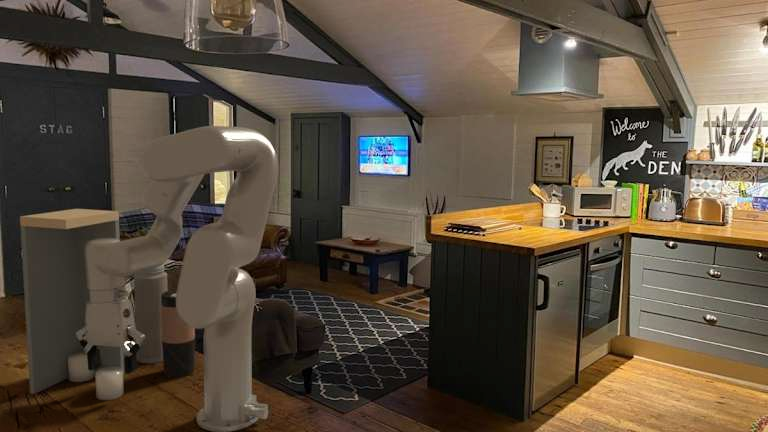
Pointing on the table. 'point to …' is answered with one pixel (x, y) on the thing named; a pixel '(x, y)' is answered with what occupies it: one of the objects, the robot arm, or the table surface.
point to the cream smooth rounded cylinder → (109, 383)
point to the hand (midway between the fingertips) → (112, 369)
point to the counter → (60, 289)
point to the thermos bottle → (150, 312)
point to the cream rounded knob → (79, 367)
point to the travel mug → (176, 340)
